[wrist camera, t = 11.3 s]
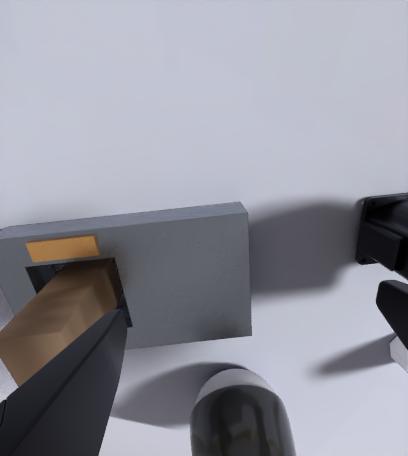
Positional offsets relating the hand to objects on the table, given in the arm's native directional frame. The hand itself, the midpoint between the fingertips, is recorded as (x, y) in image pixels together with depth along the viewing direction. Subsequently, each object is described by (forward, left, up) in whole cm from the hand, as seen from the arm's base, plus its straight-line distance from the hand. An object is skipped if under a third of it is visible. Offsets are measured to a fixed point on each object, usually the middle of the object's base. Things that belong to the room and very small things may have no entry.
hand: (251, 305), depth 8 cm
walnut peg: (+12, +6, -13) cm, 19 cm away
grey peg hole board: (+8, +6, -13) cm, 16 cm away
